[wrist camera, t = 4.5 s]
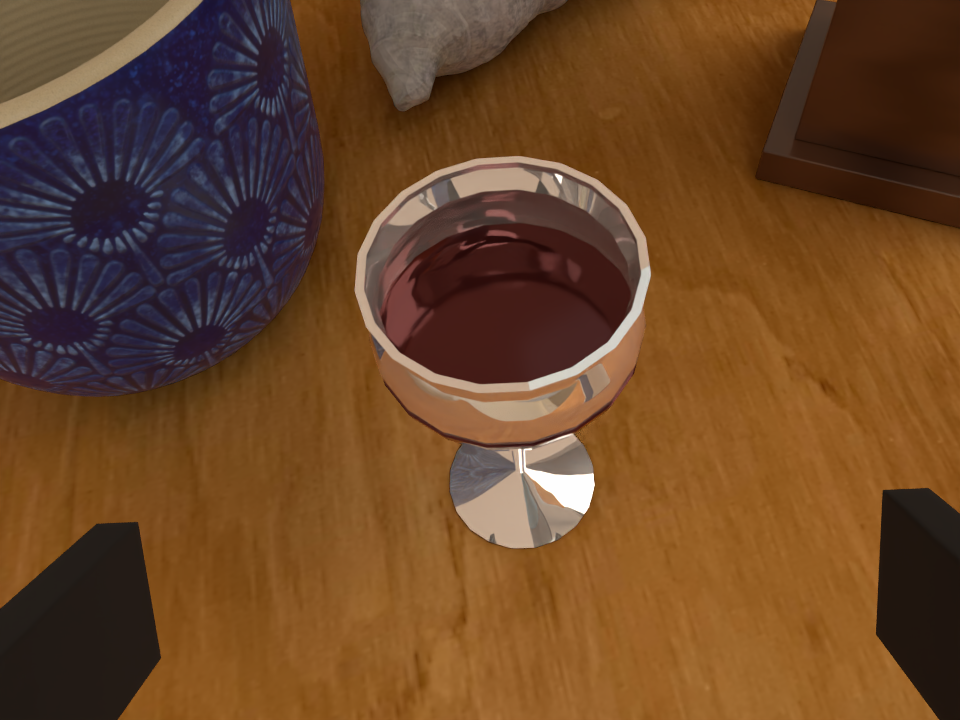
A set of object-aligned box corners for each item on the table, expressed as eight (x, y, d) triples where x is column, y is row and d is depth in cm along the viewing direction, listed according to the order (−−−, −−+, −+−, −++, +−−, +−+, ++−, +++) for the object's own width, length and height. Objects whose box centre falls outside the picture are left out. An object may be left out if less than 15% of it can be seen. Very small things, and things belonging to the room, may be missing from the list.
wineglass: (595, 376, 31) (612, 132, 21) (644, 554, 28) (692, 362, 18) (412, 410, 31) (340, 181, 21) (437, 593, 28) (365, 423, 17)
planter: (136, 557, 29) (-204, 295, 16) (-121, 316, 36) (-513, -11, 23) (454, 236, 35) (392, -139, 22) (186, 80, 42) (17, -283, 29)
